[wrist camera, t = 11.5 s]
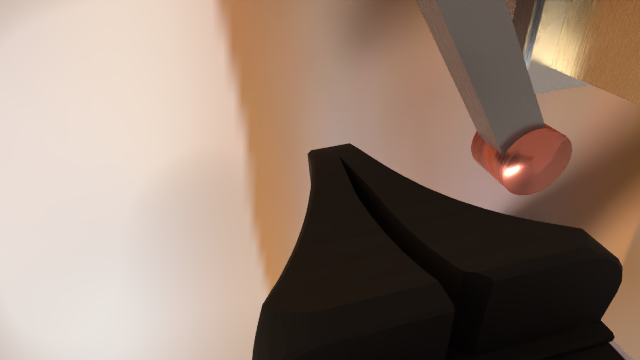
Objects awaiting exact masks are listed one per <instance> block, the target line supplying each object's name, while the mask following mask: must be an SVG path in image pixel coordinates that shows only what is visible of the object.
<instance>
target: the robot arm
mask: <svg viewBox="0 0 640 360" xmlns="http://www.w3.org/2000/svg"><path fill="white" fill-rule="evenodd" d="M308 162H309V171H310V180H311V190H310V196H309V202H308V207H307V212H306V216H305V219H304V223H303V226H302V229H301V232H300V234H299V237H298V240H297V243H296V245H295V247H294V250H293V252H292V254H291V256H290V258H289V260H288V262H287V264H286V266H285V268H284V270H283V272H282V274H281V276H280V278H279V279H278V281H277V283H276V284H275V286H274V287H273V289H272V290H271V292H270V294H269V295H268V297H267V298H266V300H265V302H264V303H263V305H262V309H261V313H260V317H259V321H258V326H257V331H256V336H255V341H254V348H253V356H252V360H633V359H632V358H631V357H630V355H629V354H628V353H627V352H626V351H625V350H624V349H623V348H622V347H621V346H620V345H619V344H618V343H617V342H616V341H615V340H614V335H613V332H612V331H611V330H610V329H609V328H608V327H607V326H606V325H605V324H604V323H603V322H602V321H601V318H602V317H603V315H604V313H605V312H606V310H607V308H608V306H609V305H610V303H611V301H612V300H613V298H614V296H615V295H616V293H617V291H618V289H619V286H620V284H621V282H622V265H621V263H620V261H619V259H618V258H617V257H616V256H614V255H613V254H612V253H611V252H610V251H608V250H607V249H606V248H605V247H603V246H602V245H601V244H600V243H599V242H597V241H596V240H595V239H594V238H593V237H591V236H590V235H589V234H588V233H586V232H585V231H584V230H583V229H580V228H574V227H568V226H562V225H556V224H550V223H544V222H538V221H533V220H528V219H524V218H519V217H515V216H511V215H506V214H502V213H498V212H495V211H491V210H487V209H484V208H481V207H477V206H474V205H471V204H468V203H465V202H462V201H459V200H456V199H453V198H451V197H448V196H446V195H443V194H441V193H438V192H436V191H433V190H431V189H429V188H426V187H424V186H422V185H420V184H418V183H416V182H414V181H412V180H410V179H408V178H406V177H404V176H402V175H401V174H399V173H397V172H395V171H394V170H392V169H390V168H388V167H387V166H385V165H383V164H382V163H380V162H379V161H377V160H375V159H374V158H372V157H371V156H369V155H368V154H366V153H364V152H363V151H361V150H360V149H358V148H357V147H355V146H353V145H352V144H350V143H349V144H344V145H338V146H333V147H327V148H321V149H316V150H311V151H310V152H309V153H308Z"/></svg>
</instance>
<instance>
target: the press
mask: <svg viewBox="0 0 640 360" xmlns="http://www.w3.org/2000/svg"><path fill="white" fill-rule="evenodd" d="M568 2H569V0H517V4H516V9H515V14H514V19H513V25H514V28H515V32H516V35H517V38H518V41H519V44H520V48H521V51H522V54H523V57H524V60H525V64H526V67H527V70H528V73H529V76H530V80H531V83H532V86H533V89H534V92H535V94H539V93H544V92H550V91H556V90H562V89H567V88H573V87H579V86H584V85H590V84H588V83H586V82H584V81H581V80H579V79H576V78H574V77H572V76H569V75H567V74H564V73H562V72H560V71H557V70H555V69H553V68H550V67H551V64H552V60H553V56H554V53H555V49H556V45H557V42H558V38H559V35H560V31H561V27H562V24H563V20H564V17H565V13H566V9H567V6H568Z"/></svg>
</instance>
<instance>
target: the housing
mask: <svg viewBox="0 0 640 360" xmlns="http://www.w3.org/2000/svg"><path fill="white" fill-rule="evenodd" d="M550 68H553V69H555V70H557V71H560V72H562V73H564V74H567V75H569V76H572V77H574V78H576V79H579V80H581V81H584V82H586V83H588V84H591V85H593V86H595V87H598V88H600V89H603V90H605V91H607V92H610V93H612V94H614V95H617V96H619V97H622V98H624V99H626V100H629V101H631V102H633V103H636V104H638V105H640V0H569V2H568V6H567V9H566V13H565V17H564V20H563V24H562V27H561V31H560V35H559V38H558V42H557V45H556V49H555V53H554V56H553V60H552V64H551V67H550Z"/></svg>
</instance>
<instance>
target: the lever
mask: <svg viewBox="0 0 640 360" xmlns="http://www.w3.org/2000/svg"><path fill="white" fill-rule="evenodd" d="M416 1H417V3H418V6H419V8H420V10H421V12H422V14H423V16H424V18H425V20H426V23H427V25H428V27H429V29H430V31H431V33H432V35H433V38H434V40H435V42H436V44H437V46H438V48H439V50H440V52H441V55H442V57H443V59H444V61H445V63H446V65H447V67H448V70H449V72H450V74H451V76H452V78H453V80H454V82H455V85H456V87H457V89H458V91H459V93H460V95H461V97H462V99H463V102H464V104H465V106H466V108H467V110H468V112H469V114H470V117H471V119H472V121H473V123H474V125H475V127H476V129H477V132H476V134H475V136H474V138H473V141H472V146H471V152H472V156H473V158H474V159H475V161H476V162H477V163H479V164H480V165H481V166H482V167H483V168H484V169H485V170H486V171H487V172H489V173H490V174H491V175H492V176H493V177H494V178H495V179H496V180H497V181H499V182H500V183H501V184H502V185H503V186H504V187H505V188H506V189H507V190H508V191H510V192H511V193H513V194H516V195H529V194H532V193H535V192H538V191H540V190H542V189H544V188H545V187H547V186H548V185H550V184H551V183H552V182H553V181H555V180H556V179H557V178H558V177H559V176H560V174H561V173H562V172H563V171H564V169H565V168H566V166H567V164H568V162H569V160H570V157H571V152H572V146H571V142H570V140H569V139H568V138H567V137H566V136H565V135H563V134H562V133H560V132H558V131H557V130H555V129H553V128H552V127H550V126H548V125H547V124H545V123H544V121H543V118H542V115H541V111H540V108H539V105H538V102H537V99H536V96H535V92H534V89H533V86H532V83H531V80H530V76H529V73H528V70H527V67H526V64H525V60H524V57H523V54H522V51H521V48H520V44H519V41H518V38H517V35H516V32H515V28H514V25H513V22H512V19H511V16H510V13H509V9H508V6H507V3H506V0H416Z"/></svg>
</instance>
